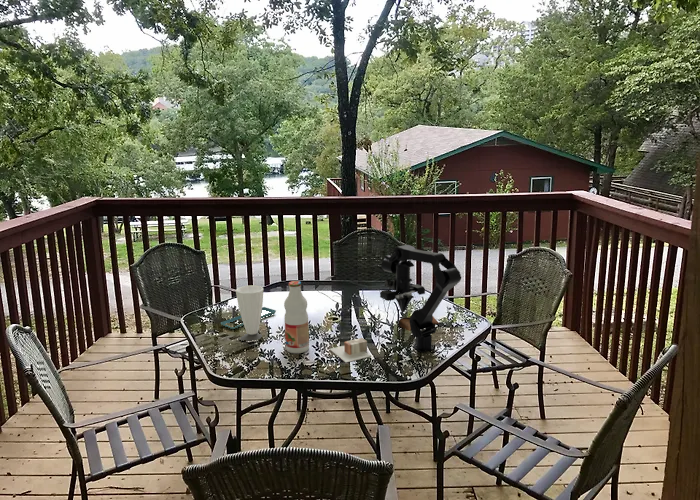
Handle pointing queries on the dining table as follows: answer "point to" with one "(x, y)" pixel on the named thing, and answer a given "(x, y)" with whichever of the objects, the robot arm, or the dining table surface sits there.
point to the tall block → (355, 346)
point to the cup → (250, 310)
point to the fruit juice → (296, 320)
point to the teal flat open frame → (241, 317)
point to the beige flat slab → (346, 357)
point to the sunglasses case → (406, 324)
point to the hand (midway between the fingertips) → (402, 312)
